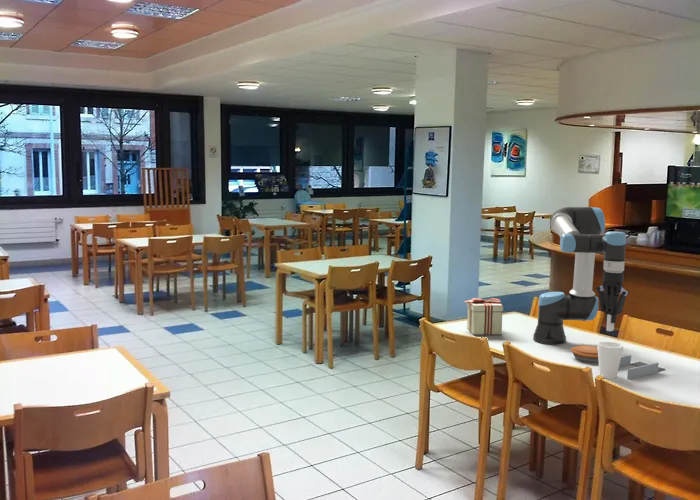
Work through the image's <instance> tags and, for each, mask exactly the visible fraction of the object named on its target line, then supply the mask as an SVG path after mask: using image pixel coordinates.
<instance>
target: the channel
mask: <svg viewBox="0 0 700 500" xmlns="http://www.w3.org/2000/svg"><path fill="white" fill-rule="evenodd" d="M631 360H632V354H626V355H621V360H620V365H619V368H620V367H625V366H629V365H631V363H632V361H631ZM647 364H648V365H644V366H639V367H638V366H634V367H631V368H627V377H626V378H627V380H632V379H636V378H640V377H644V376H649V375H653V374H657V373H658V374H659V372H658V367H659V362H653V363H650V364H649V363H647Z"/></svg>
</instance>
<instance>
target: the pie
mask: <svg viewBox="0 0 700 500" xmlns="http://www.w3.org/2000/svg"><path fill="white" fill-rule="evenodd" d="M570 351H571V353H572V354H573V356H574V358H575V359H576V360H578V361H580V362H584V363H595V364H597V363H598V364H599V360H598V349H597V345H587V344H585V345H584V344H583V345H582V344H581V345H576V346H574V347H572V348H570Z"/></svg>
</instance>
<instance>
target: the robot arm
mask: <svg viewBox="0 0 700 500" xmlns="http://www.w3.org/2000/svg"><path fill="white" fill-rule="evenodd" d="M549 226H550V228H551V231H553V232H554V233H555V234H557V235H558V236H559V247H560V251H561V252H562V253H569V254H571V253H575V256H574V257H575V258H574V269H573V282H572V283H573V284H572V289H570V290H569V292H568V295H565V293H564V292H563V291H548V292H544V293H541V294H540V295H539V297H538V303H537V305H538V310H537V311H538V312H537V325H536V327H535V330H534V332H533V335H532V336H533V337H532V340H533V341H534V342H537V343H539V344H540V343H541V344H545V345H564V344H566V342H567V336H566V332H565V329H564V321H582V322H586V321H587V322H588V321H594V320H595V318H596V317H597V315H598V311H599V306H600V310H601V312H603V313H604V314H605V317H604V318H605V319H604V321H605V322H606V332H612V331H615V324H616V322H617V315H620V314H622V312H623V309H624V306H625V302H626V299H627V296H628V295H629V293H630V292H629V290H626V289H625V288H624V284H623V282H624V275H625V273H624V271H625V262H626V261H625V259H626V244H627V234H626V233H625V232H623V231H606V232H605V230H606V218H605V214H604V212H603V210H602V208H600V207H593V206H574V207H573V206H566V207H562V208H560V209H557V210H555V211H554V212H553V213H552V215H551V216H550V218H549ZM596 254H603V272H602V281H603V282H602V283H601V285H600V286H597V287H596V291H597V293H598V296H596V292H595V291H593V287H594V286H593V283H594V270H595V260H596V259H595V258H596Z"/></svg>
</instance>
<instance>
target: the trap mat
mask: <svg viewBox="0 0 700 500" xmlns="http://www.w3.org/2000/svg"><path fill="white" fill-rule="evenodd" d="M648 364H649V363H647V362H643V361H635V362H631V364H630V365H631V366H634V367H639V366H644V365H648ZM663 371H666V368H662V367H659V366H658V373H659V372H663Z"/></svg>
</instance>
